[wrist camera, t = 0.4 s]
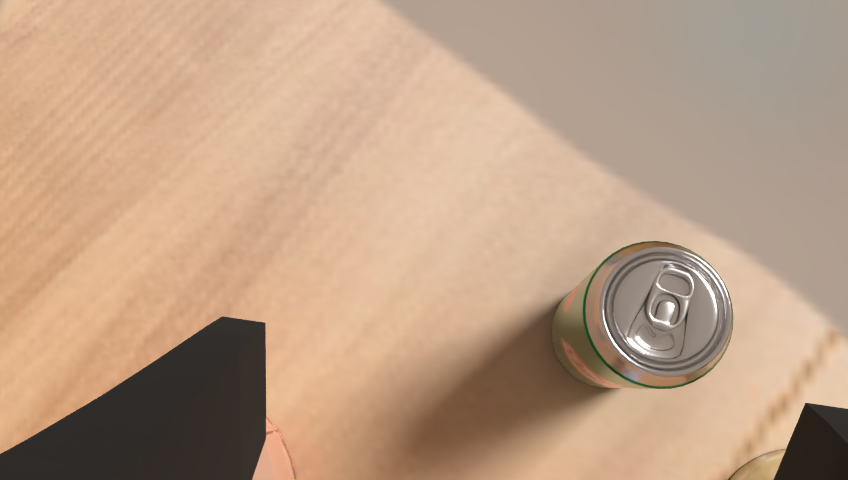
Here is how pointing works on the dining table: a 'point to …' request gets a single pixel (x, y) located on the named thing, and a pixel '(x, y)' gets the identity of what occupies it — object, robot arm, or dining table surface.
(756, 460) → the hand bell
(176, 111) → the dining table surface
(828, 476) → the robot arm
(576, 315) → the soda can
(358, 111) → the dining table surface
